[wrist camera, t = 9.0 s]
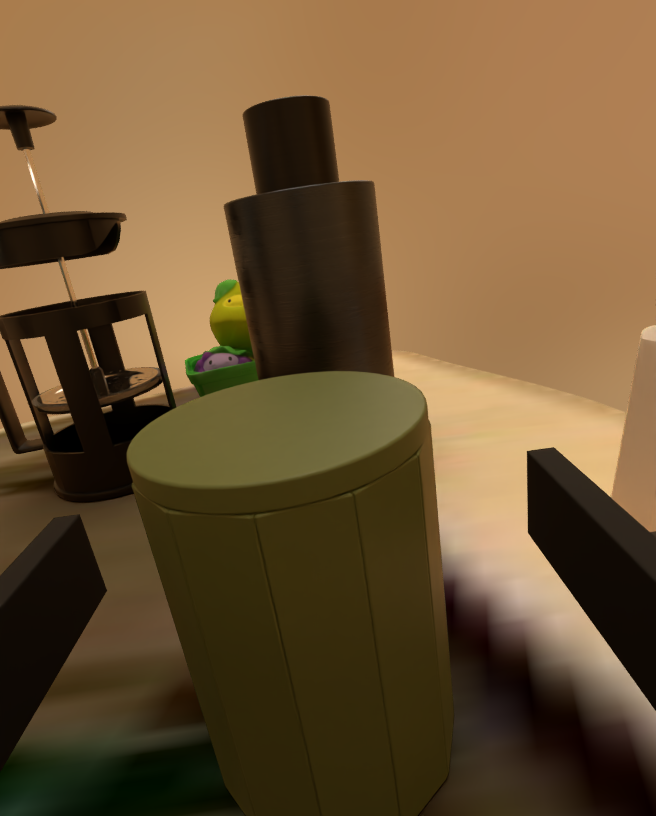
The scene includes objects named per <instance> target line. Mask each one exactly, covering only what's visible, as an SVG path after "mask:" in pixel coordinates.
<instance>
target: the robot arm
mask: <svg viewBox="0 0 656 816" xmlns="http://www.w3.org/2000/svg"><path fill="white" fill-rule="evenodd" d="M527 491H528V534H529V535H530V536H531V538H532V539H533V541H534V542H535V543H536V545H537V546H538V548H539V549H540V550H541V552H542V553H543V554H544V556H545V557H546V559H547V560H548V561H549V563H550V564H551V566H552V567H553V568H554V570H555V571H556V573H557V574H558V575H559V577H560V578H561V580H562V581H563V582H564V584H565V585H566V587H567V588H568V589H569V591H570V592H571V593H572V595H573V596H574V598H575V599H576V600H577V602H578V603H579V605H580V606H581V607H582V609H583V610H584V612H585V613H586V614H587V616H588V617H589V619H590V620H591V621H592V623H593V624H594V625H595V627H596V628H597V630H598V631H599V632H600V634H601V635H602V637H603V638H604V639H605V641H606V642H607V644H608V645H609V646H610V648H611V649H612V651H613V652H614V653H615V655H616V656H617V657H618V659H619V660H620V662H621V663H622V664H623V666H624V667H625V669H626V670H627V671H628V673H629V674H630V676H631V677H632V678H633V680H634V681H635V683H636V684H637V685H638V687H639V688H640V689H641V691H642V692H643V694H644V695H645V696H646V698H647V699H648V701H649V702H650V703H651V705H652V706H653V708H654V709H655V710H656V531H653V532H649V531H648V530H647V529H646V528H645V527H644V526H642V525H641V524H640V523H639V522H638V521H637V520H636V519H634V518H633V517H632V516H631V515H630V514H629V513H628V512H627V511H625V510H624V509H623V508H622V507H621V506H620V505H619V504H617V503H616V502H615V501H614V500H613V499H612V498H611V497H610V496H608V495H607V494H606V493H605V492H604V491H603V490H602V489H600V488H599V487H598V486H597V485H596V484H595V483H594V482H593V481H591V480H590V479H589V478H588V477H587V476H586V475H585V474H583V473H582V472H581V471H580V470H579V469H578V468H577V467H576V466H574V465H573V464H572V463H571V462H570V461H569V460H568V459H566V458H565V457H564V456H563V455H562V454H561V453H560V452H559V451H557V450H556V449H555V448H554V447H553V448H546V449H538V450H531V451H527ZM106 591H107V589H106V587H105V584H104V581H103V578H102V576H101V573H100V570H99V567H98V564H97V562H96V559H95V556H94V553H93V550H92V548H91V545H90V542H89V539H88V537H87V534H86V531H85V528H84V525H83V523H82V520H81V517H80V514H78V515H71V516H64V517H57V518H54V519H53V520H52V521H51V522H50V523H49V524H48V525H47V526H46V527H45V528H44V529H43V530H42V531H41V532H40V534H39V535H38V536H37V537H36V538H35V539H34V540H33V541H32V542H31V543H30V544H29V545H28V546H27V548H26V549H25V550H24V551H23V552H22V553H21V554H20V555H19V556H18V557H17V558H16V559H15V560H14V562H13V563H12V564H11V565H10V566H9V567H8V568H7V569H6V570H5V571H4V572H3V573H2V574H1V576H0V771H1V770H2V768H3V766H4V764H5V763H6V761H7V759H8V758H9V756H10V754H11V753H12V751H13V749H14V748H15V746H16V744H17V742H18V741H19V739H20V737H21V736H22V734H23V732H24V731H25V729H26V727H27V725H28V724H29V722H30V720H31V719H32V717H33V715H34V714H35V712H36V710H37V708H38V707H39V705H40V703H41V702H42V700H43V698H44V697H45V695H46V693H47V692H48V690H49V688H50V686H51V685H52V683H53V681H54V680H55V678H56V676H57V675H58V673H59V671H60V669H61V668H62V666H63V664H64V663H65V661H66V659H67V658H68V656H69V654H70V652H71V651H72V649H73V647H74V646H75V644H76V642H77V641H78V639H79V637H80V636H81V634H82V632H83V630H84V629H85V627H86V625H87V624H88V622H89V620H90V619H91V617H92V615H93V613H94V612H95V610H96V608H97V607H98V605H99V603H100V602H101V600H102V598H103V596H104V595H105V593H106Z"/></svg>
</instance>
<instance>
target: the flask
mask: <svg viewBox="0 0 656 816" xmlns="http://www.w3.org/2000/svg"><path fill="white" fill-rule="evenodd" d="M243 120H244V126H245V132H246V137H247V143H248V148H249V154H250V160H251V165H252V171H253V177H254V182H255V188H256V193H257V195H252V196H249V197H244V198H240V199H236V200H233V201H230V202H228V203H226V204H225V205H224V210H225V215H226V220H227V225H228V230H229V235H230V240H231V245H232V250H233V255H234V260H235V265H236V270H237V275H238V280H239V285H240V290H241V295H242V300H243V305H244V310H245V315H246V320H247V325H248V330H249V335H250V341H251V346H252V351H253V356H254V361H255V366H256V371H257V376H258V380H263V379H268V378H274V377H280V376H286V375H293V374H302V373H312V372H328V371H354V372H368V373H376V374H382V375H387V376H391V377H394V370H393V360H392V350H391V342H390V331H389V322H388V312H387V302H386V293H385V283H384V274H383V264H382V254H381V244H380V236H379V225H378V216H377V206H376V197H375V188H374V182H372V181H365V180H360V181H359V180H358V181H343V182H339V178H338V169H337V161H336V153H335V145H334V137H333V129H332V121H331V113H330V105H329V101H328V100H327V99H325V98H323V97H318V96H292V97H284V98H278V99H274V100H269V101H266V102H262V103H259V104H257V105H254V106H252V107H250V108H249V109H247V110H246V111H245V112H244V113H243Z"/></svg>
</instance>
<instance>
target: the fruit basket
mask: <svg viewBox="0 0 656 816" xmlns="http://www.w3.org/2000/svg"><path fill="white" fill-rule="evenodd" d="M213 302H214V303H215V306H214V308H213V310H212V313H211V316H210V326H211V330H212V332H213V334H214V336H215V338H216V339H217V341H218V343H219V344H220V346H219V347H214V348H212V349H210V351H205V352H204V353H203V354H202V355H198V356H194V357H191V358H188V359H187V360H185V365H186V374H187V376H188V378H189V380H190V382H191V383H192V384H193V385H194V386H195V388H196V390H197V392H198V393H199V395H200V397H203V396H205V395H208V394H211V393H214V392H217V391H220V390H223V389H227V388H230V387H234V386H237V385H241V384H245V383H249V382H254V381H258V376H257V371H256V366H255V361H254V356H253V351H252V346H251V341H250V335H249V330H248V325H247V320H246V315H245V310H244V305H243V300H242V295H241V290H240V285H239V282H237V281H236V280H226V281H224V282H221V283H220V284H219V285H218V286H217V288H216V291H215V299H214V300H213Z"/></svg>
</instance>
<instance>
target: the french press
mask: <svg viewBox="0 0 656 816" xmlns="http://www.w3.org/2000/svg"><path fill="white" fill-rule="evenodd" d="M55 120H56V116H55V114H54V113H52V112H51V111H48V110H46V109H42V108H38V107H32V106H23V105H10V106H0V129H10V130H11V133H12V136H13V138H14V141H15V144H16V146H17V149H18V150H22V151H23V152H24V155H25V158H26V161H27V164H28V168H29V171H30V174H31V177H32V180H33V183H34V186H35V190H36V193H37V196H38V199H39V202H40V206H41V209H42V212H43V214H38V215H30V216H24V217H18V218H13V219H9V220H5V221H2V222H0V269H5V268H13V267H22V266H30V265H37V264H44V263H51V262H59V266H60V269H61V272H62V275H63V278H64V282H65V285H66V288H67V291H68V294H69V297H70V301H68V302H62V303H57V304H52V305H47V306H41V307H37V308H31V309H26V310H22V311H17V312H13V313H9V314H5V315H1V316H0V332H1V335H2V338H3V339H4V340H5V341H6V344H7V347H8V350H9V352H10V355H11V358H12V360H13V363H14V366H15V368H16V371H17V374H18V377H19V379H20V382H21V385H22V388H23V390H24V393H25V396H26V398H27V401H28V404H29V407H30V409H31V412H32V414H33V417H34V420H35V423H36V425H37V428H38V431H39V434H40V436H41V439H36V440H31V441H30V440H27V439H26V438H25V435H24V433H23V430H22V427H21V425H20V422H19V419H18V417H17V414H16V412H15V409H14V406H13V404H12V401H11V398H10V396H9V393H8V390H7V388H6V385H5V383H4V380H3V377H2V375H1V372H0V419H1V422H2V424H3V427H4V429H5V432H6V434H7V437H8V439H9V442H10V444H11V447H12V449H13V451H14V453H16V454H22V453H27V452H32V451H37V450H42V449H44V451H45V454H46V457H47V460H48V462H49V465H50V468H51V470H52V473H53V476H54V478H55V481H54V489H55V492H56V493H57V494H58V496H59V497H61V498H63V499H65V500H70V501H80V502H87V501H98V500H104V499H109V498H114V497H118V496H122V495H126V494H129V493H132V492H133V489H132V483H133V480H132V476H131V473H130V470H129V467H128V464H127V450H128V447H129V444H130V443H131V441H132V440H133V438H134V437H135V436H136V435H137V434H138V433H139V432H140V431H141V430H142V429H143V428H144V427H146V426H147V425H148V424H149V423H151V422H152V421H154V420H155V419H157V418H158V417H160V416H162V415H163V414H165V413H167V412H169V411H171V410H172V409H175V408H176V404H175V400H174V396H173V393H172V389H171V385H170V381H169V378H168V374H167V370H166V366H165V362H164V359H163V355H162V351H161V347H160V344H159V340H158V336H157V332H156V328H155V325H154V321H153V317H152V313H151V310H150V306H149V302H148V298H147V294H146V291H134V292H125V293H118V294H111V295H105V296H97V297H91V298H85V299H79V300H76V297H75V294H74V290H73V287H72V284H71V281H70V278H69V274H68V271H67V268H66V265H65V261H66V260H72V259H79V258H85V257H92V256H98V255H104V254H109V253H111V252H113V251H115V250H116V248H117V245H118V243H119V239H120V232H121V226H120V222H123V221H125V220H126V215H125V214H122V213H93V212H87V211H86V212H85V211H73V212H57V213H49V210H48V207H47V204H46V201H45V197H44V194H43V191H42V188H41V185H40V181H39V178H38V175H37V172H36V168H35V165H34V162H33V159H32V156H31V152H30V150H32V149H34V145H33V141H32V137H31V133H30V130H29V129H31V128H37V127H42V126H46V125H49V124H51V123H53V122H55ZM143 314H145V317H146V321H147V325H148V329H149V332H150V336H151V340H152V343H153V347H154V351H155V354H156V358H157V362H158V366H159V368H152V367H141V368H131V369H125V368H124V364H123V361H122V357H121V354H120V351H119V347H118V344H117V340H116V337H115V334H114V330H113V327H112V323H115V322H119V321H123V320H127V319H131V318H134V317H137V316H141V315H143ZM86 329H88V332H89V335H90V339H91V342H92V345H93V348H94V352H95V355H96V358H97V361H98V364H99V367H97V364H96V361H95V358H94V355H93V351H92V348H91V345H90V342H89V338H88V335H87V332H86ZM78 330H80V332H81V335H82V339H83V342H84V345H85V348H86V351H87V354H88V357H89V361H90V364H91V367H92V368H91V369H90V370H89V368H88V365H87V362H86V358H85V355H84V352H83V349H82V346H81V343H80V340H79V336H78V333H77V331H78ZM42 336H45V339H46V342H47V345H48V348H49V351H50V354H51V357H52V360H53V363H54V366H55V369H56V372H57V375H58V377H59V380H60V383H61V385H60V386H57V387H55V388H52V389H50V390H47V391H45V392H43V393H41V394H39V391H38V389H37V386H36V383H35V380H34V377H33V374H32V372H31V369H30V366H29V363H28V361H27V358H26V355H25V352H24V350H23V347H22V344H21V341H20V339H28V338H36V337H42ZM162 382H163V384H164V388H165V392H166V395H167V399H168V403H169V405H164V404H146V405H137V406H136V405H135V402H134V397H137V396H139V395H141V394H144V393H146V392H148V391H150V390H152V389H154V388H156V387H157V386H159V384H161V383H162ZM109 405H111V406H112V411H108V412H104V413H103V412H102V409H101V408H102V407H106V406H109ZM68 413H71V416H72V418H73V421H74V423H73V424H71V425H69V426H67V427H65V428H63V429H61V430H59V431H57V432H56V433H53V430H52V427H51V425H50V422H49V419H48V416H47V414H68Z"/></svg>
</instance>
